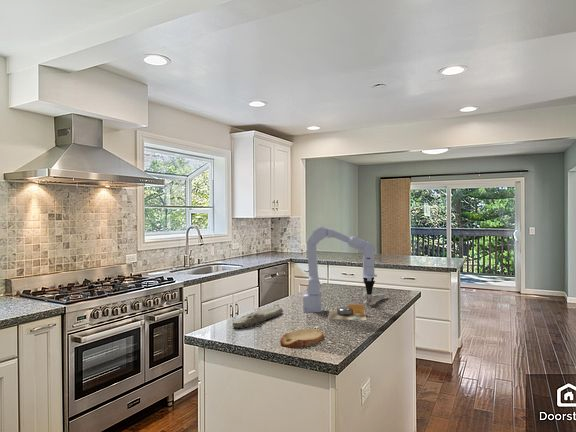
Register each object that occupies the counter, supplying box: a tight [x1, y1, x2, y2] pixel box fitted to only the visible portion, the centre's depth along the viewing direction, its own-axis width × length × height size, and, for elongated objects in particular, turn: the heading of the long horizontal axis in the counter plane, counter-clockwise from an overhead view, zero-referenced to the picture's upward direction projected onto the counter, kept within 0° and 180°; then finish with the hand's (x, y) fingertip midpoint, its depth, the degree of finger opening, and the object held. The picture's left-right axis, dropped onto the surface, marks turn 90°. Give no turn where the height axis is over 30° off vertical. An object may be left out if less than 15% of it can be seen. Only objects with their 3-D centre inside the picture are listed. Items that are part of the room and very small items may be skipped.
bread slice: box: [279, 327, 324, 349], centre depth 155 cm, size 18×18×4 cm
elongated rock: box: [232, 307, 284, 329], centre depth 186 cm, size 35×5×10 cm
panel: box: [327, 309, 367, 321], centre depth 189 cm, size 18×18×1 cm
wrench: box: [361, 291, 388, 307], centre depth 219 cm, size 8×2×30 cm
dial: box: [336, 303, 365, 316], centre depth 190 cm, size 13×8×5 cm, turn 80°
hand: (369, 292), depth 196 cm, fingers open, 7 cm apart
